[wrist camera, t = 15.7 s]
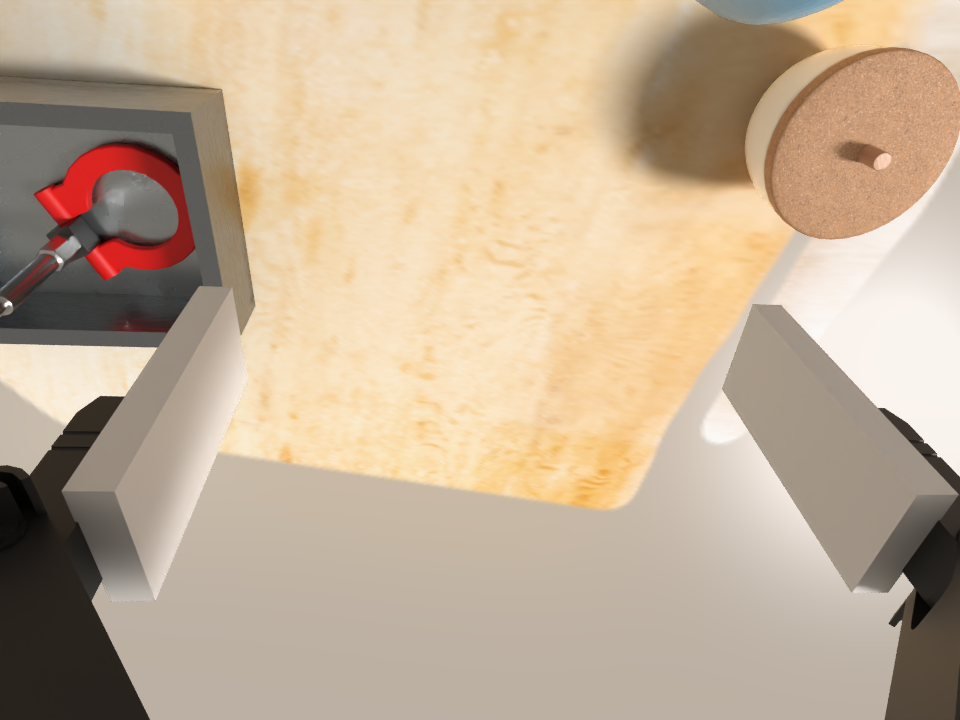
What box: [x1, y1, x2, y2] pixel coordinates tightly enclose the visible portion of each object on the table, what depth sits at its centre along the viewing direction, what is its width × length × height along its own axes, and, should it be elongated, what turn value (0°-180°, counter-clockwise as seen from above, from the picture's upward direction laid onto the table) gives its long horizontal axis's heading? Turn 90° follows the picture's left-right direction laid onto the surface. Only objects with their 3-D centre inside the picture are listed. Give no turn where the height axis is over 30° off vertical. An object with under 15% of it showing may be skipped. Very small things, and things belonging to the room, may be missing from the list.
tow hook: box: [0, 143, 195, 317], centre depth 36 cm, size 8×13×9 cm
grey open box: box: [0, 76, 255, 347], centre depth 39 cm, size 20×15×6 cm
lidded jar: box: [745, 45, 960, 239], centre depth 38 cm, size 11×11×9 cm
